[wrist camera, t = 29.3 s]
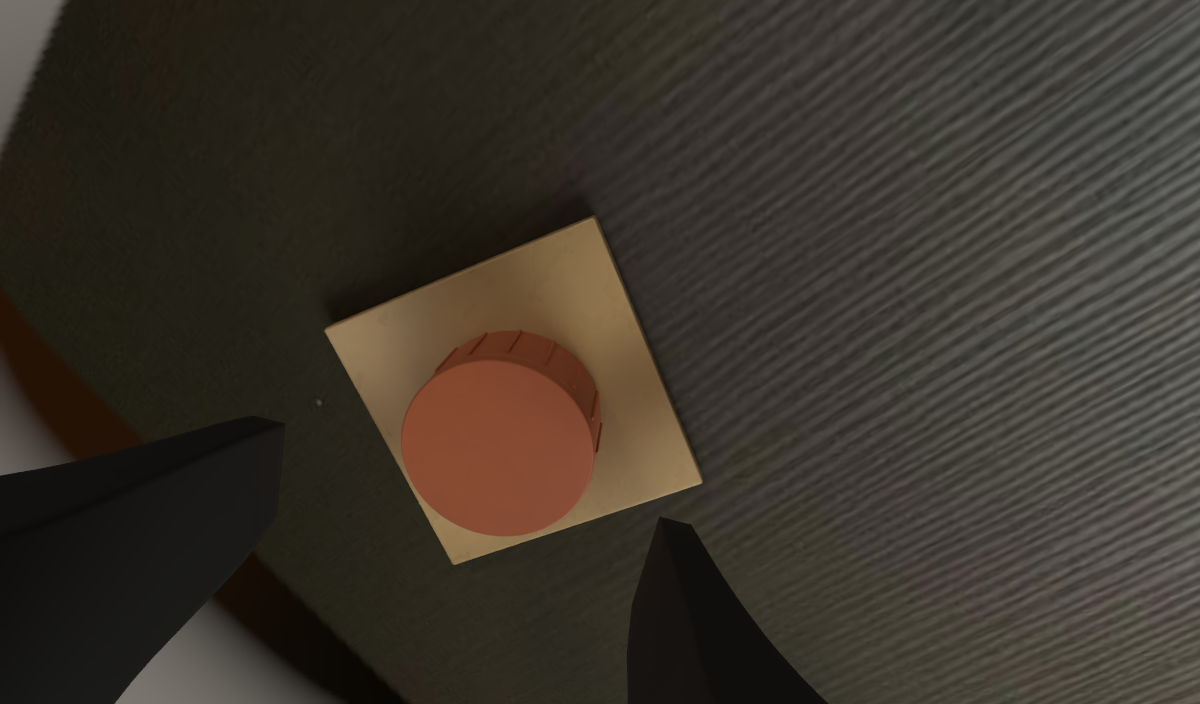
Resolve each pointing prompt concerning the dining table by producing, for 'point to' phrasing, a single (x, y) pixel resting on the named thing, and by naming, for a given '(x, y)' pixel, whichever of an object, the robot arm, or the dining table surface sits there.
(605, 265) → the coaster
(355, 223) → the dining table surface
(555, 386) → the flask cap
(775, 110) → the dining table surface
